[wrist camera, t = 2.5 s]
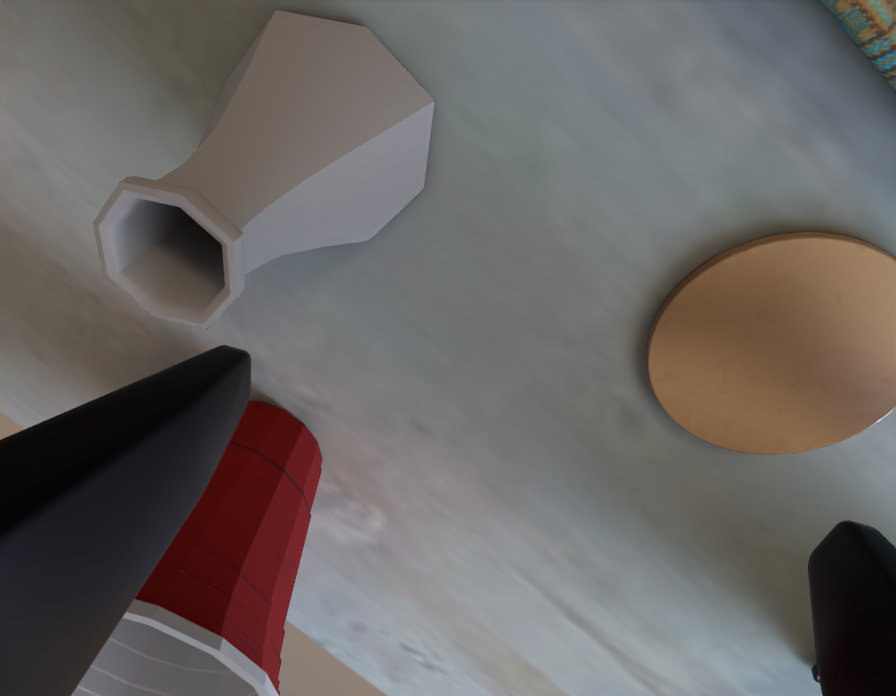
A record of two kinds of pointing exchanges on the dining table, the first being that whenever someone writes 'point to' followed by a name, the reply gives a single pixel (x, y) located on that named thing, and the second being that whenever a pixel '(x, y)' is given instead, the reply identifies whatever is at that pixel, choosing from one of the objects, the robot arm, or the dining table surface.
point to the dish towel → (870, 30)
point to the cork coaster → (779, 344)
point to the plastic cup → (222, 575)
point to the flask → (273, 170)
